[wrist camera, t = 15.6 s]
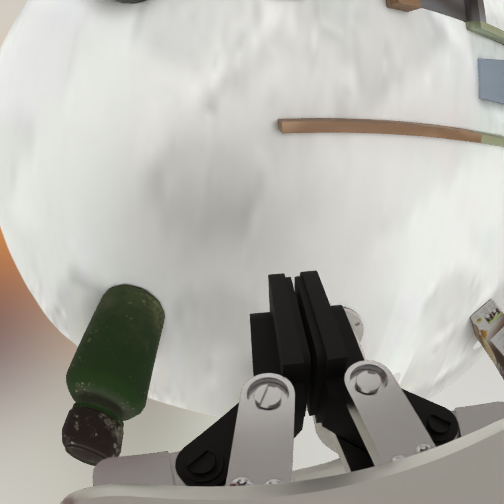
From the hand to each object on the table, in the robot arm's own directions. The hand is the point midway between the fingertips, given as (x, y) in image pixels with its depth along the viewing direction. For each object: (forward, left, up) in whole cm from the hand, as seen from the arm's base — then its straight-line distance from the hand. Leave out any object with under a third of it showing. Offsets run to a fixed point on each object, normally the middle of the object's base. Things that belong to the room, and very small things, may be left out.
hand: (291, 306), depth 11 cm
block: (+12, -35, -27) cm, 46 cm away
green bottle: (-22, +20, -27) cm, 40 cm away
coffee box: (-34, -47, -27) cm, 64 cm away
